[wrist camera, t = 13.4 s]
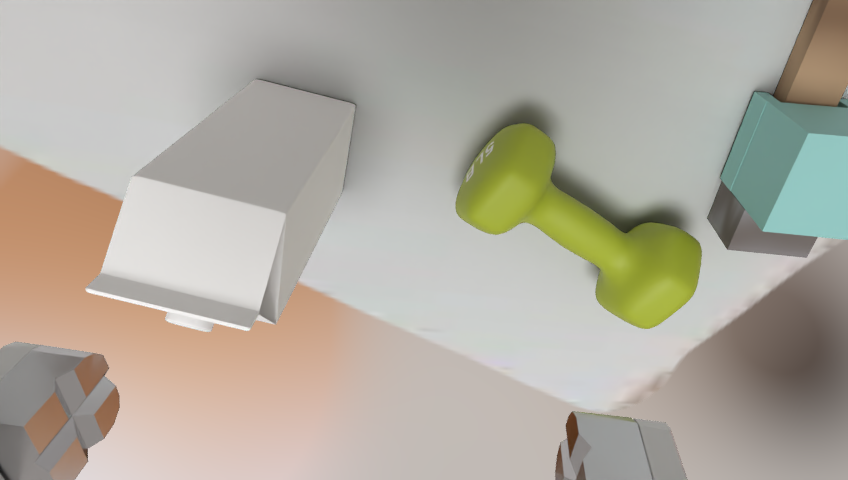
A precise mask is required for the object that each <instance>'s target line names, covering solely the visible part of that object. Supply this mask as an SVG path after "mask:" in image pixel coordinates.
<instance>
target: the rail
mask: <svg viewBox="0 0 848 480" xmlns="http://www.w3.org/2000/svg"><path fill="white" fill-rule="evenodd" d="M847 85H848V0H813V2H812V4H811V7H810V9H809V11H808V14H807V16H806V19H805V21H804V23H803V26H802V28H801V31H800V33H799V35H798V38H797V40H796V43H795V45H794V47H793V50H792V52H791V55H790V57H789V59H788V62H787V64H786V67H785V69H784V71H783V74H782V76H781V79H780V81H779V83H778V86H777V88H776V91H775V93H774V95H773V97H774V98H776V99H777V100H778V101H780V102H783V103H795V104H807V105H819V106H831V107H837V105H838V103H839V101H840V99H841V97H842V95H843V93H844V91H845V89H846V87H847ZM707 219H708V220H709V222H710V223H711V225H712V227H713V228H714V230H715V231H716V233H717V234H718V236H719V237H720V239H721V240H722V242H723V244H724V245H725V247H726V248H727V250H736V251H746V252H756V253H766V254H776V255H786V256H795V257H805V258H807V256H808V254H809V252H810V250H811V249H812V247H813V245H814V243H815V241H816V239H817V237H814V236H804V235H794V234H784V233H774V232H764V231H762V230H761V229H760V228H759V227H758V225H757V224H756V223H755V221H754V220H753V219H752V218H751V216H750V215H749V214H748V212H747V211H746V210H745V209H744V207H743V206H742V205H741V204H740V202H739V201H738V200H737V198H736V197H735V196H734V195H733V193H732V192H731V191H730V190H729V189H728V188H727V187H726V185H725V184H724V183H723V181H722V183H721V185H720V188H719V190H718V193H717V196H716V198H715V201H714V203H713V206H712V208H711V211H710V213H709V216H708V218H707Z"/></svg>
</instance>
